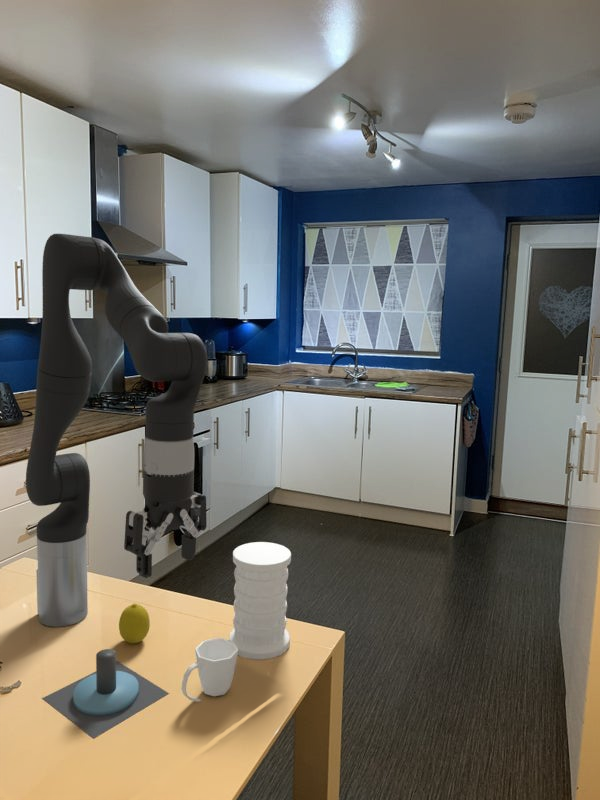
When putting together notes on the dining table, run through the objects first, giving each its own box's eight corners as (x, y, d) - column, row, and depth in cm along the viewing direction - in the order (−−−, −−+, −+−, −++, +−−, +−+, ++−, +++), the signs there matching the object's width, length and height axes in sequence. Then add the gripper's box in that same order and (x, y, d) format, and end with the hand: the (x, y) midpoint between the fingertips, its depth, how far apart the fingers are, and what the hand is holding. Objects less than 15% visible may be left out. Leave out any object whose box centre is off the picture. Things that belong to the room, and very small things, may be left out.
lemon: (141, 654, 112) (141, 613, 111) (113, 649, 113) (113, 609, 112) (154, 638, 118) (154, 599, 116) (127, 634, 119) (127, 595, 117)
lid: (60, 697, 98) (59, 655, 97) (114, 670, 106) (113, 631, 105) (97, 725, 92) (97, 680, 91) (151, 693, 100) (151, 652, 99)
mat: (42, 701, 98) (42, 698, 98) (117, 663, 109) (116, 660, 109) (93, 742, 90) (93, 738, 89) (169, 696, 100) (169, 693, 100)
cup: (245, 695, 102) (247, 649, 100) (196, 722, 95) (196, 674, 93) (219, 676, 106) (220, 632, 105) (170, 701, 99) (170, 654, 98)
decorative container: (279, 664, 111) (282, 569, 108) (219, 652, 114) (221, 560, 111) (296, 632, 122) (300, 546, 119) (241, 622, 125) (244, 537, 122)
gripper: (187, 453, 101) (184, 547, 103) (113, 469, 89) (113, 574, 92) (220, 462, 96) (216, 560, 99) (147, 480, 85) (145, 590, 88)
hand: (166, 567), depth 95 cm, fingers open, 8 cm apart
